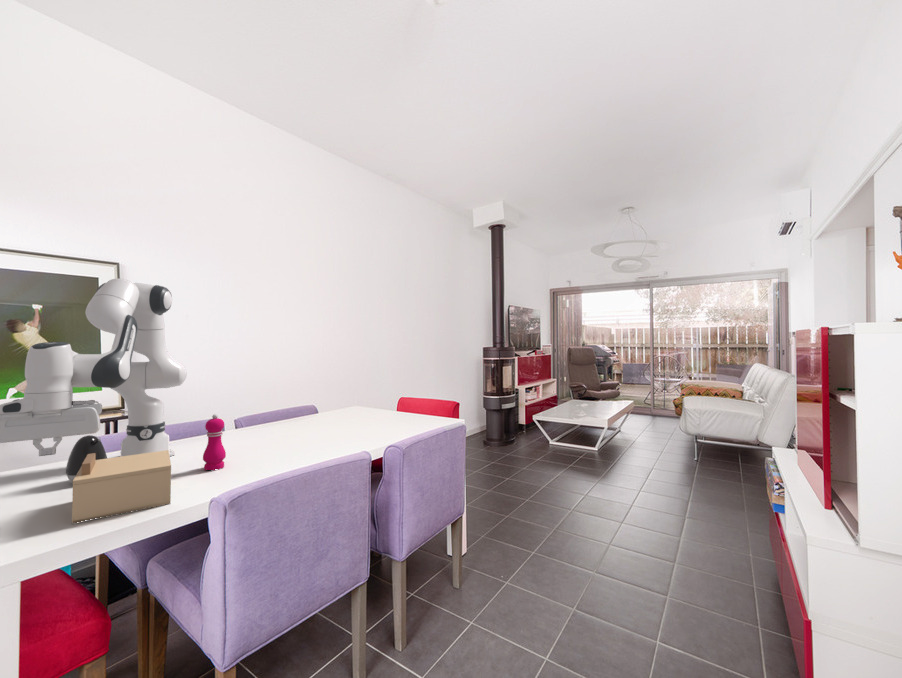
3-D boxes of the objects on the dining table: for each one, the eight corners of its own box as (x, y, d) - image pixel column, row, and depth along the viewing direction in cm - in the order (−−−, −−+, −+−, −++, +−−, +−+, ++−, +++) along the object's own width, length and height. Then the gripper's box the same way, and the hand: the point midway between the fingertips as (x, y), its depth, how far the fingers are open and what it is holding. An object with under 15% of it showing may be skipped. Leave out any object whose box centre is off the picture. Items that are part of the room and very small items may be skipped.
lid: (83, 465, 110) (84, 451, 110) (168, 453, 123) (168, 440, 123) (72, 485, 94) (73, 469, 95) (171, 468, 107) (171, 455, 107)
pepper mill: (230, 465, 141) (231, 413, 141) (213, 472, 134) (214, 416, 134) (215, 464, 143) (215, 412, 143) (197, 470, 136) (198, 415, 136)
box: (83, 499, 110) (83, 465, 110) (167, 483, 123) (168, 453, 123) (71, 524, 94) (72, 485, 95) (170, 503, 107) (171, 469, 107)
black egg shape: (77, 488, 118) (78, 440, 119) (57, 484, 122) (59, 437, 122) (115, 477, 128) (116, 433, 128) (96, 474, 131) (97, 431, 132)
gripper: (103, 398, 108) (102, 446, 108) (-6, 404, 95) (-8, 459, 95) (101, 400, 103) (99, 450, 103) (-15, 407, 90) (-17, 465, 90)
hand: (47, 455), depth 99 cm, fingers closed
